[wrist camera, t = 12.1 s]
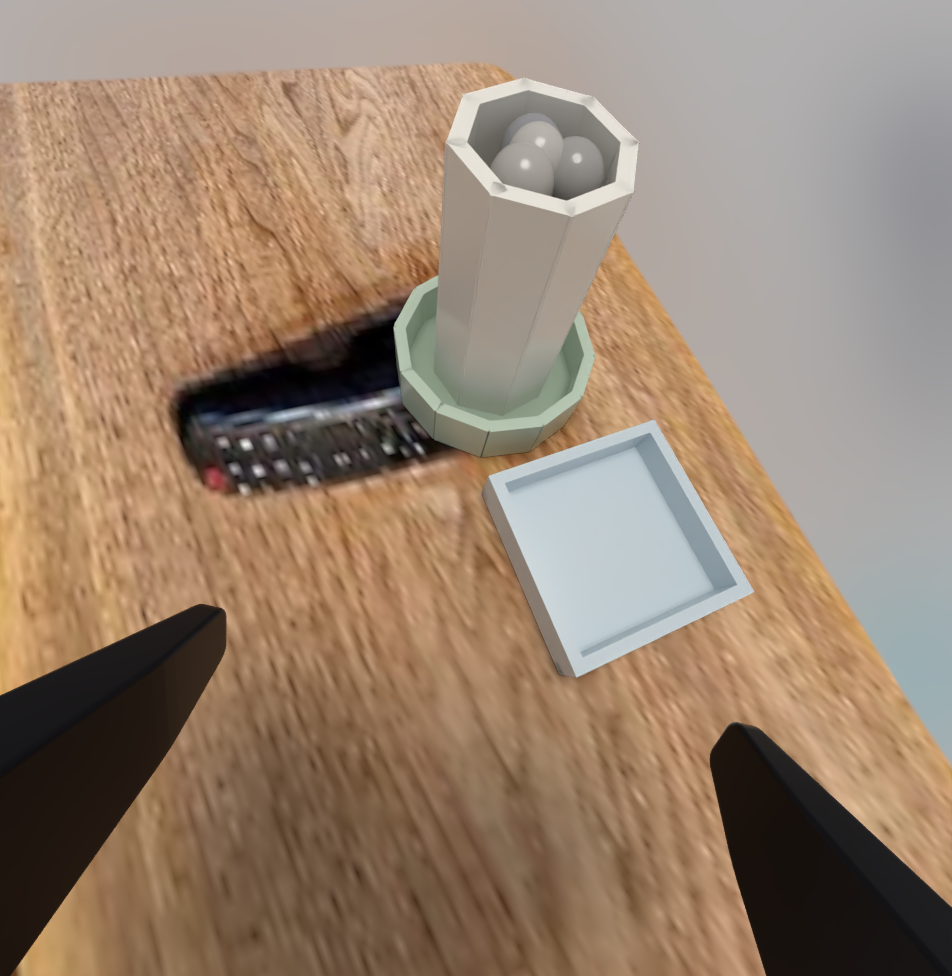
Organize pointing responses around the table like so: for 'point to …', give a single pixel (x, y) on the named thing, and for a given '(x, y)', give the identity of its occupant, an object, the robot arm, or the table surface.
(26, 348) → the table surface
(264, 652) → the table surface
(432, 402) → the bowl
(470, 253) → the pebble cup
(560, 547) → the parts tray
